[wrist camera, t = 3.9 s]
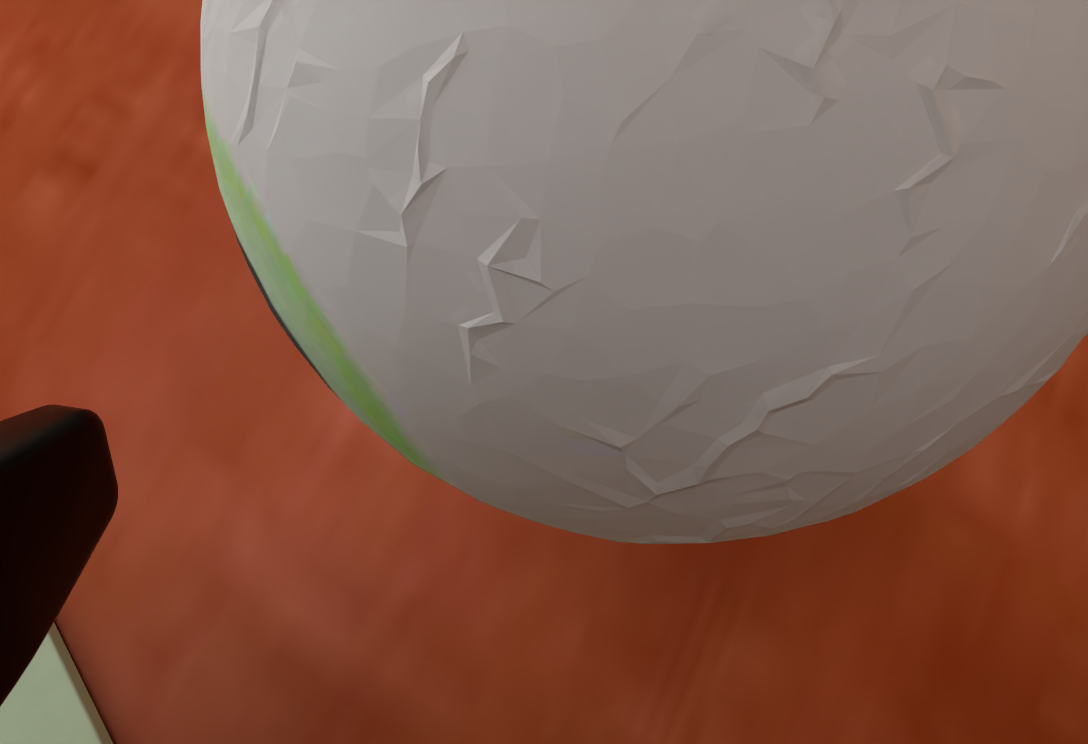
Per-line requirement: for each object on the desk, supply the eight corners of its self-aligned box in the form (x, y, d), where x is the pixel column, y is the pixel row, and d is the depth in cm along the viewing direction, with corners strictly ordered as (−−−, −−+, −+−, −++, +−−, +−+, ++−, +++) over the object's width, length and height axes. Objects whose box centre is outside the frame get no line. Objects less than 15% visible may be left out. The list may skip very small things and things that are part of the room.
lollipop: (423, 362, 20) (-228, -374, 6) (731, 170, 20) (841, -999, 6) (620, 689, 18) (363, 813, 4) (960, 471, 18) (1971, -212, 4)
